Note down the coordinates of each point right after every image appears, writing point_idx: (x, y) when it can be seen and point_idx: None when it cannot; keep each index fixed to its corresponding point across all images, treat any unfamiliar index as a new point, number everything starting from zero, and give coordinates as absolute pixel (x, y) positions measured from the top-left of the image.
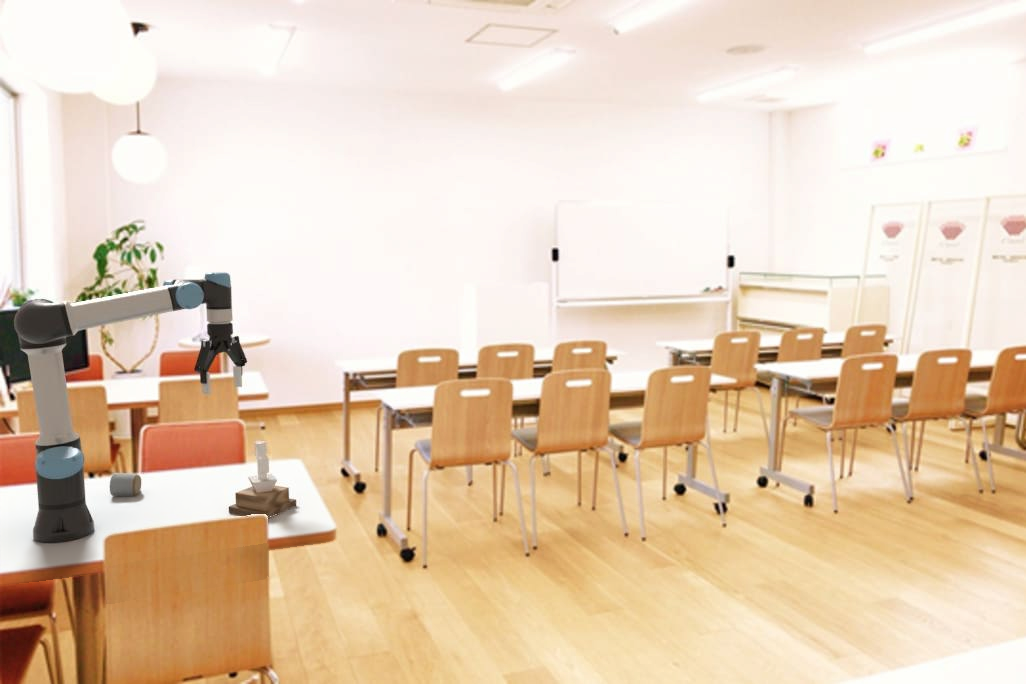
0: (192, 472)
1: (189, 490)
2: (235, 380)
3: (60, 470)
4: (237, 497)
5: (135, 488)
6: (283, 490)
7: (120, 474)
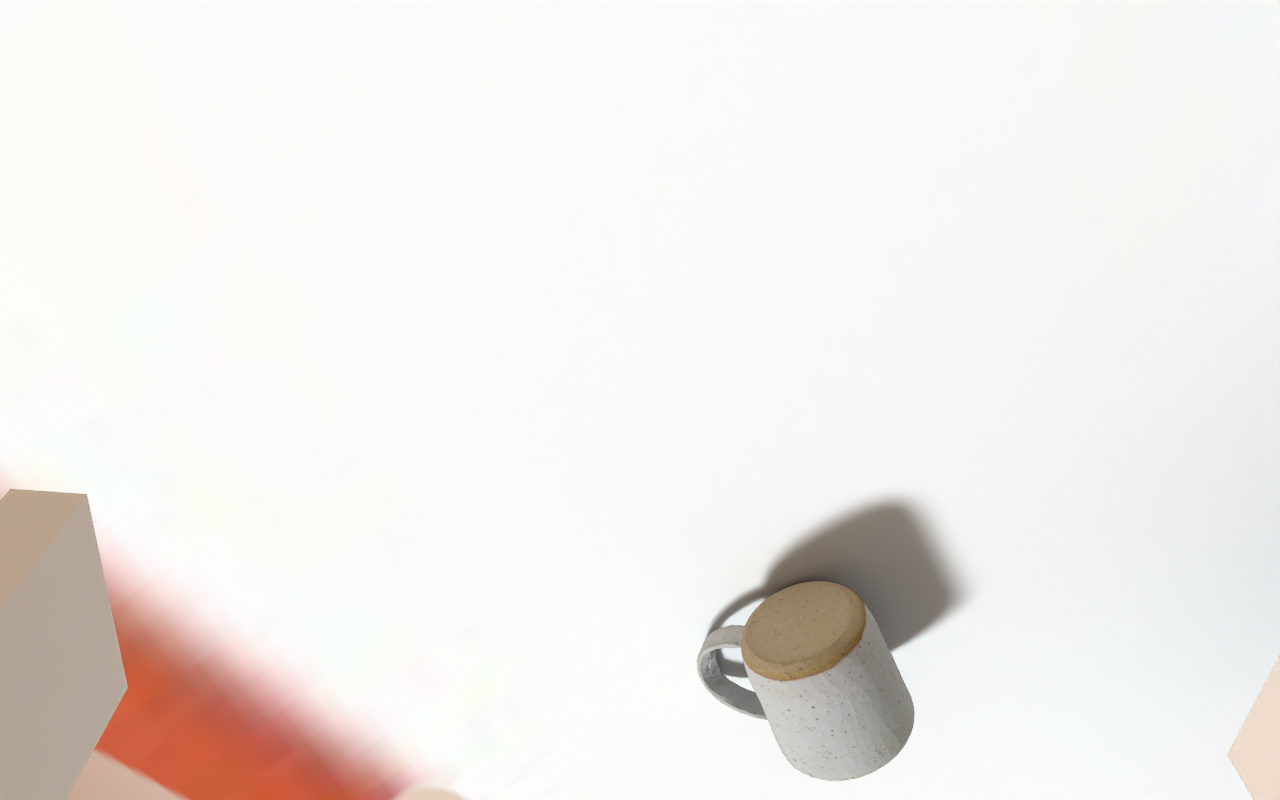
0: (278, 600)
1: (603, 379)
2: (28, 784)
3: None
4: None
5: (846, 599)
6: None
7: (859, 739)
